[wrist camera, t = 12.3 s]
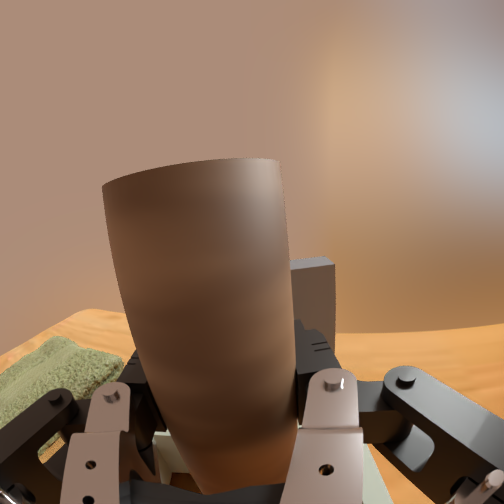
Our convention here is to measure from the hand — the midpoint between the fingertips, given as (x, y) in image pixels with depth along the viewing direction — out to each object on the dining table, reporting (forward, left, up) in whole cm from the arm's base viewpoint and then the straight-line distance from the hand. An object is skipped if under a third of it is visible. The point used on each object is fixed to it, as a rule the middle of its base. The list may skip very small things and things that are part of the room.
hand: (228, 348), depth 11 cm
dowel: (0, -3, -7) cm, 8 cm away
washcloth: (-20, +5, -10) cm, 23 cm away
